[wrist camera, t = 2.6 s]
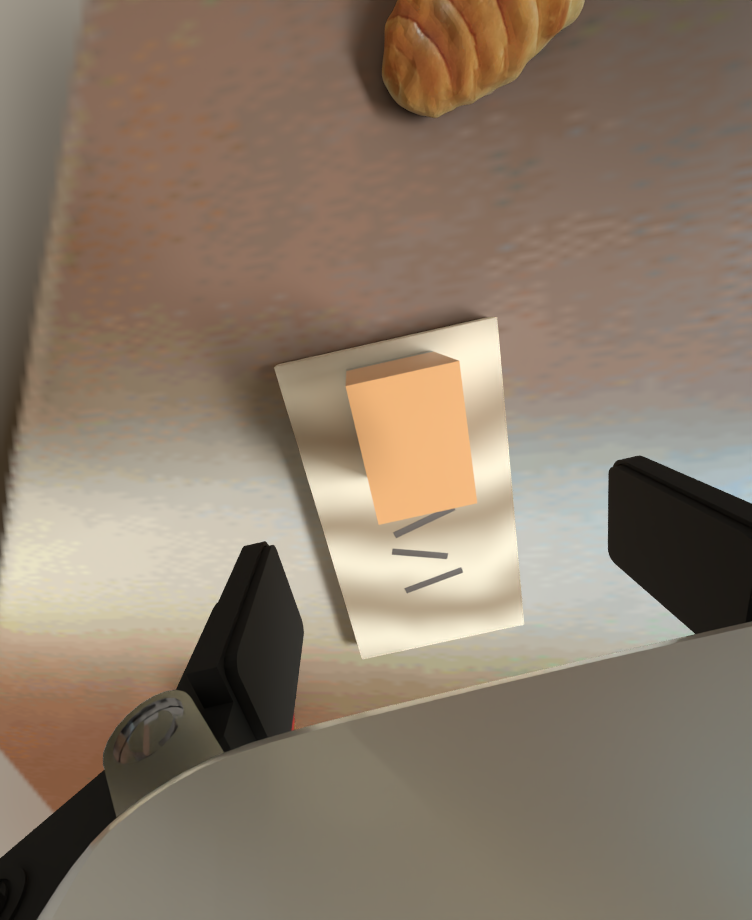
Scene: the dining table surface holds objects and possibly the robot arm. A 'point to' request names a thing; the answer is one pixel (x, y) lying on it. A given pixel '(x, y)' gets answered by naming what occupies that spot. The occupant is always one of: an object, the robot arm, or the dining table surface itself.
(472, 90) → the pastry
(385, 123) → the dining table surface
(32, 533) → the dining table surface
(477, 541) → the ash board
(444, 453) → the block
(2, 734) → the dining table surface
